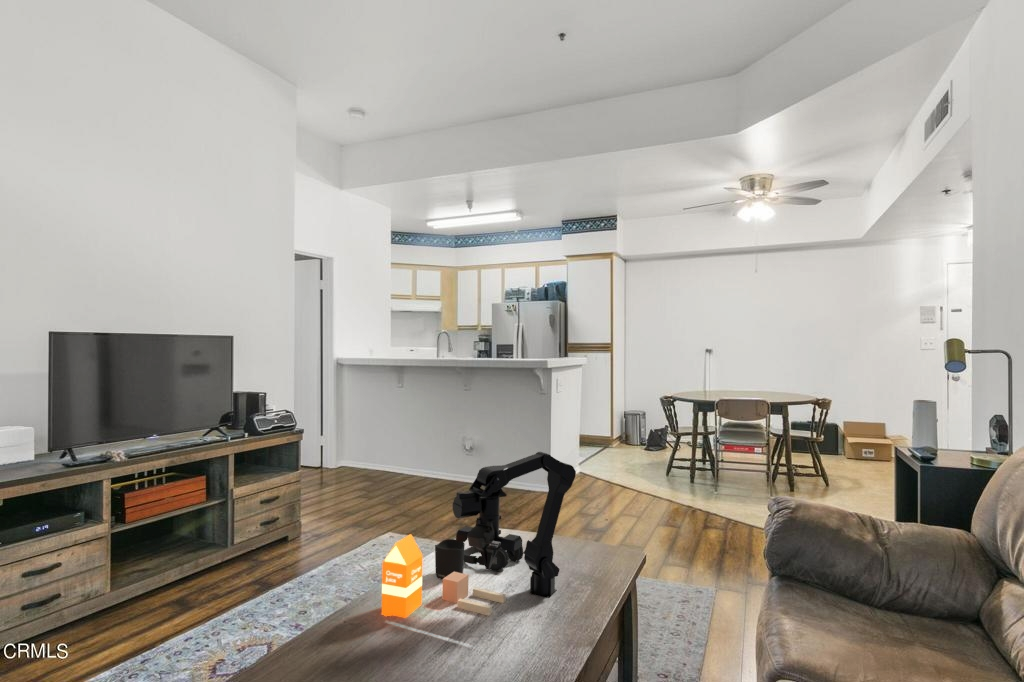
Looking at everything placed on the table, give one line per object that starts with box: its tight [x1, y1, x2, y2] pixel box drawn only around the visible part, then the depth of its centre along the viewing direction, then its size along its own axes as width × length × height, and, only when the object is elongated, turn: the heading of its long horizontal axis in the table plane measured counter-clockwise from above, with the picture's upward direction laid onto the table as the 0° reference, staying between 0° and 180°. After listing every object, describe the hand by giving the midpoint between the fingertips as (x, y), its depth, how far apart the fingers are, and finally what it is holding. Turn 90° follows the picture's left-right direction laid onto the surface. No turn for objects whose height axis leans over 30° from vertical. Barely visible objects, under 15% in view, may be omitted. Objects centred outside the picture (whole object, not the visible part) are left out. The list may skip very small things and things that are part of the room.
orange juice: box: [381, 533, 424, 619], centre depth 156 cm, size 8×9×20 cm
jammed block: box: [442, 572, 469, 604], centre depth 164 cm, size 5×6×6 cm
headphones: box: [464, 545, 524, 572], centre depth 195 cm, size 17×7×20 cm
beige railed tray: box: [456, 587, 507, 617], centre depth 162 cm, size 18×12×2 cm, turn 63°
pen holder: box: [434, 538, 465, 580], centre depth 181 cm, size 9×9×10 cm
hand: (487, 568), depth 159 cm, fingers closed
